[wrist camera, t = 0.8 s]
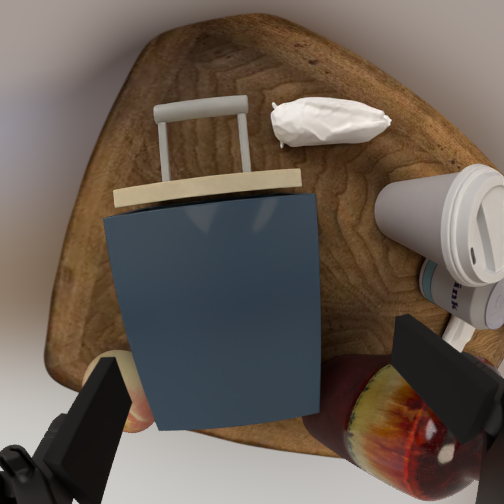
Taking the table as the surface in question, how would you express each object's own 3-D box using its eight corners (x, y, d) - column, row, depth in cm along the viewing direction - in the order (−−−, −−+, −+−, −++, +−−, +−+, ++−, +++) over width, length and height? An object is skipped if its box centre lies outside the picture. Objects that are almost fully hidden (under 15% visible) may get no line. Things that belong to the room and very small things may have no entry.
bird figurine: (344, 98, 29) (261, 101, 26) (389, 94, 23) (298, 91, 20) (349, 141, 31) (268, 151, 28) (394, 145, 25) (306, 154, 22)
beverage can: (422, 240, 32) (495, 263, 20) (458, 250, 33) (525, 273, 21) (408, 295, 33) (472, 336, 21) (444, 300, 34) (505, 335, 22)
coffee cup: (357, 170, 29) (456, 162, 15) (426, 167, 30) (526, 165, 15) (364, 259, 31) (455, 308, 17) (430, 246, 32) (524, 279, 17)
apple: (165, 404, 32) (156, 450, 25) (98, 388, 31) (77, 429, 23) (170, 346, 31) (158, 389, 23) (95, 329, 30) (66, 366, 22)
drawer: (139, 125, 25) (107, 101, 17) (269, 111, 26) (290, 79, 18) (171, 349, 30) (158, 400, 21) (287, 336, 31) (310, 383, 22)
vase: (371, 426, 32) (546, 472, 8) (292, 446, 30) (457, 561, 5) (369, 347, 35) (565, 331, 10) (289, 358, 32) (501, 380, 8)
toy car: (423, 362, 36) (436, 374, 32) (457, 284, 34) (473, 291, 30) (445, 364, 36) (458, 375, 33) (478, 292, 34) (492, 299, 31)
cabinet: (142, 208, 28) (102, 218, 17) (282, 192, 29) (315, 193, 19) (172, 366, 31) (158, 430, 21) (292, 353, 33) (319, 412, 22)
